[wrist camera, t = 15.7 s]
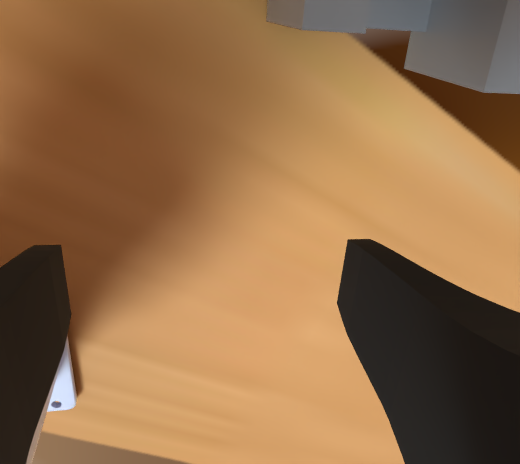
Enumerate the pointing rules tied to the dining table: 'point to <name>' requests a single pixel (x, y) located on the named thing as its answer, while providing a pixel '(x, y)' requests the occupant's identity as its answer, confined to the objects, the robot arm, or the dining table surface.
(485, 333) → the robot arm
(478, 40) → the grey stepped block
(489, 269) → the dining table surface
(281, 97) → the dining table surface
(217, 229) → the dining table surface
